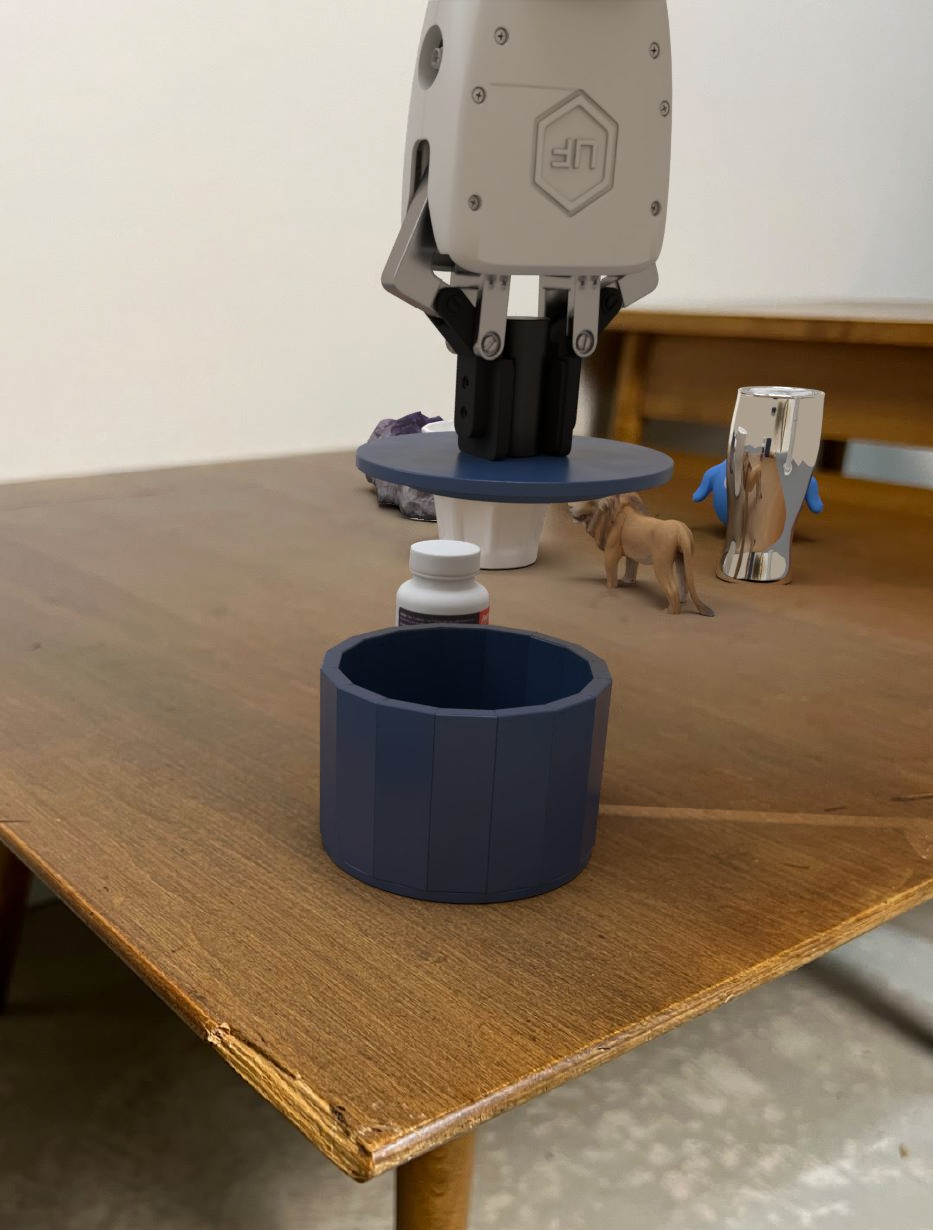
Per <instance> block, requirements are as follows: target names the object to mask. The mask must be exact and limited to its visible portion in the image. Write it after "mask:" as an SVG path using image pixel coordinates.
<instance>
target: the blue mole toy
mask: <svg viewBox="0 0 933 1230" xmlns="http://www.w3.org/2000/svg"><path fill="white" fill-rule="evenodd" d="M711 492H712V507H713V509H714V512H715V514H716V516H717V518H718V519H719V521H720V522H721V523H722V524H723V525H724V526H725V527H727V491H726V459H725V460H723V461H722V462H721V463H719V464H717V465H714V466H712V467H710V468H709V469H707V470H706V471H705V473H704V474H703V476H702V479H701V482H700V485H699V486H698V488H697V489H696V490H695V492H693V494H692V501H693V502H694V503H701V502H703V501H704V500H706V498H707V497H708V496H710V493H711ZM804 502H805V503H806V506H807V508H808V510H809V511H810V512H811V513H813V514H814V515H819V514H821V512H823V510H824V504H823V502H822V500H821V497H820V495H819V484H818V481H817V480H816V478H815V477H814V476H812V479H811V482H810V485H809V488H808V491H807V494H806V497H805V500H804ZM803 508H804V504H803V505H802V508H801V511H800V513H801V512H802V511H803Z"/></svg>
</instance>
